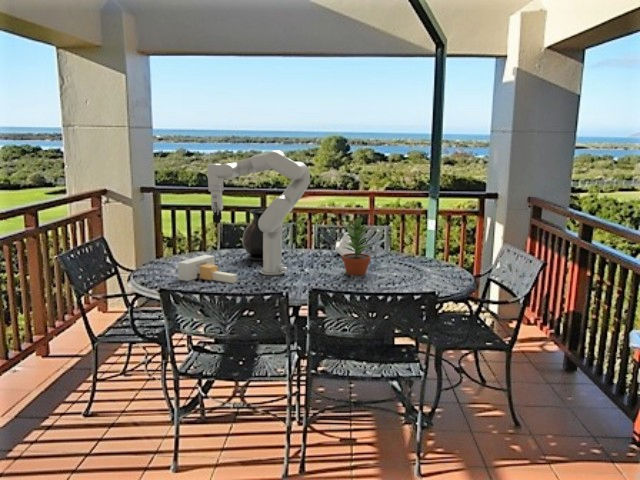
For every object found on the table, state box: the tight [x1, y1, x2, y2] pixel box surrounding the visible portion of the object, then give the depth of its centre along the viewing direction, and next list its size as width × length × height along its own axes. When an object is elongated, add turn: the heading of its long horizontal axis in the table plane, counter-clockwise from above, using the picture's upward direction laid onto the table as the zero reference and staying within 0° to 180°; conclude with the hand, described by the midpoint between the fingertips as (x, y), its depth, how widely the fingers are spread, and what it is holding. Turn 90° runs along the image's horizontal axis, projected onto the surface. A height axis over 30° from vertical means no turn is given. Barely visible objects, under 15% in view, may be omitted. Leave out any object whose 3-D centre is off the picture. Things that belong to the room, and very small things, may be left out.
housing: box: [177, 254, 216, 282], centre depth 269 cm, size 6×20×8 cm, turn 151°
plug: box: [199, 264, 238, 284], centre depth 263 cm, size 20×6×6 cm, turn 61°
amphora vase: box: [241, 208, 267, 262], centre depth 306 cm, size 22×22×28 cm
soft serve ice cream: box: [334, 232, 355, 257], centre depth 323 cm, size 12×15×14 cm
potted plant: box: [342, 217, 371, 276], centre depth 277 cm, size 15×15×30 cm
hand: (217, 221), depth 278 cm, fingers open, 9 cm apart
